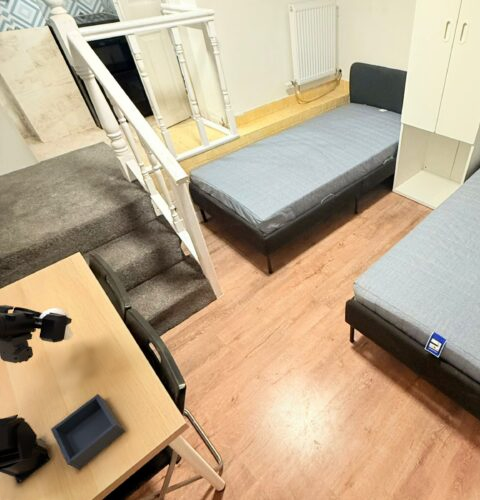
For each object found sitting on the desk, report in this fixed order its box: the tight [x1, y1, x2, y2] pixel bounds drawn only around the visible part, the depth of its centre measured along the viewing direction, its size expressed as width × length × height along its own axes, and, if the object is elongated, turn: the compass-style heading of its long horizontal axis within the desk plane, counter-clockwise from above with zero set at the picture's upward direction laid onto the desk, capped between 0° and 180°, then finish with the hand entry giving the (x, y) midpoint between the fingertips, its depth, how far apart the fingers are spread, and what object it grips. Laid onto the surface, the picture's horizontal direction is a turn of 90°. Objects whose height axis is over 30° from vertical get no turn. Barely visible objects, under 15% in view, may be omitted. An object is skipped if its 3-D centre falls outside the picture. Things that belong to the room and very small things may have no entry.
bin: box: [50, 393, 126, 471], centre depth 78 cm, size 11×11×5 cm
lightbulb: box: [39, 307, 74, 341], centre depth 88 cm, size 6×6×11 cm
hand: (60, 318), depth 88 cm, fingers closed on lightbulb, 6 cm apart
